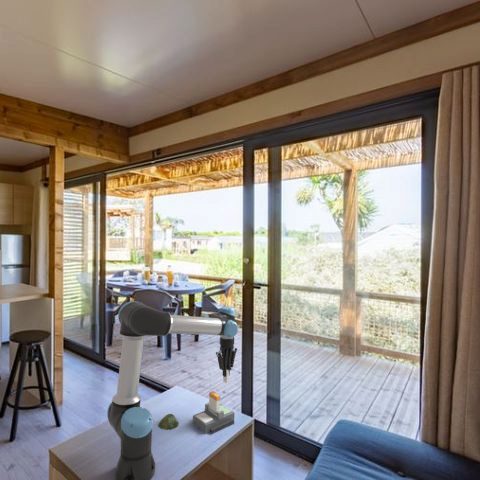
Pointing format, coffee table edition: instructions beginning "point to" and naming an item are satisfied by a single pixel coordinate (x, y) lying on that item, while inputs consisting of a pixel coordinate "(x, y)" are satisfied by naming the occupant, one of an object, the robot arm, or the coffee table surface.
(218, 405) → the lever
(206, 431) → the stepped grey box
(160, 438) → the coffee table surface
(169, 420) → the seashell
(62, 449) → the coffee table surface
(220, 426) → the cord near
